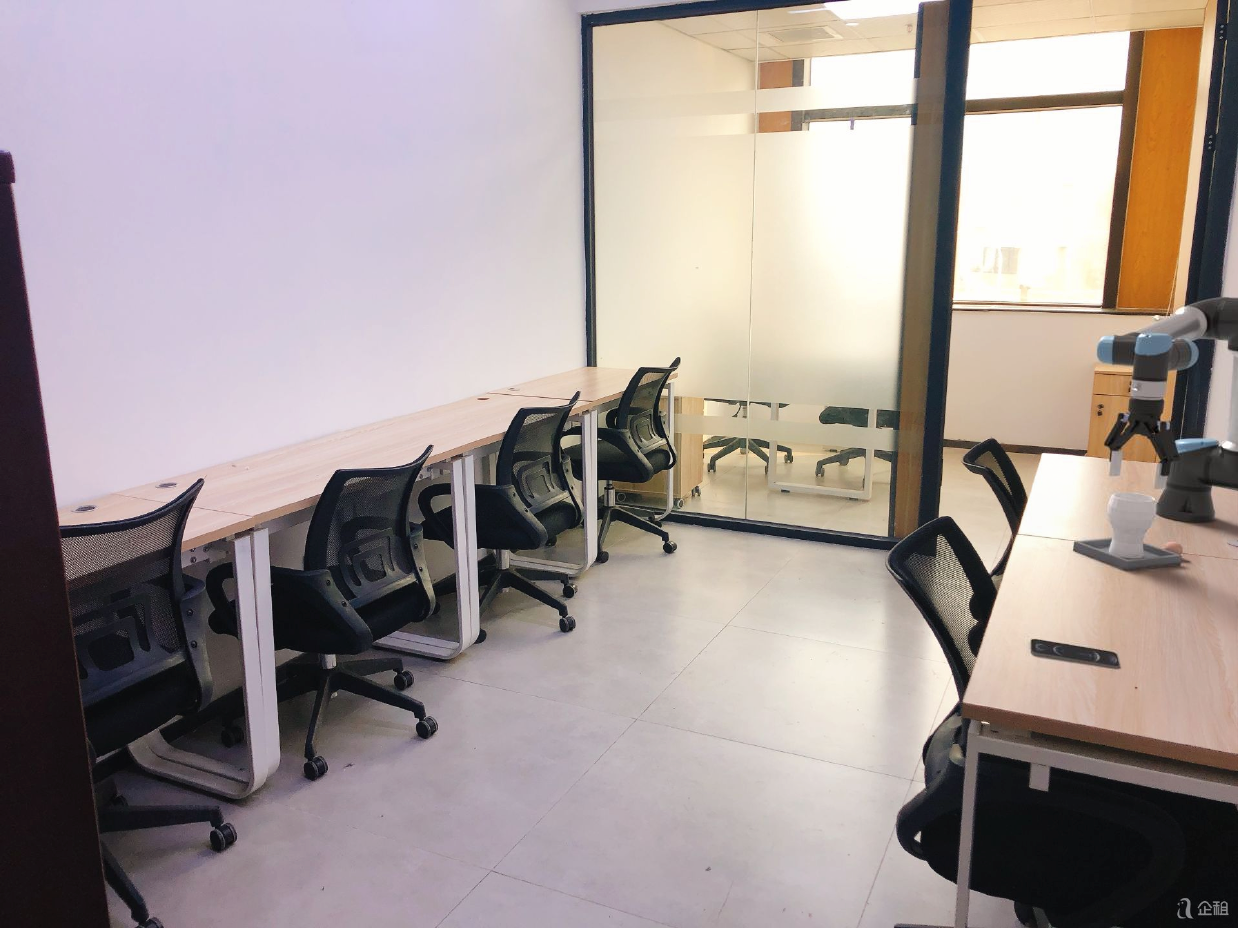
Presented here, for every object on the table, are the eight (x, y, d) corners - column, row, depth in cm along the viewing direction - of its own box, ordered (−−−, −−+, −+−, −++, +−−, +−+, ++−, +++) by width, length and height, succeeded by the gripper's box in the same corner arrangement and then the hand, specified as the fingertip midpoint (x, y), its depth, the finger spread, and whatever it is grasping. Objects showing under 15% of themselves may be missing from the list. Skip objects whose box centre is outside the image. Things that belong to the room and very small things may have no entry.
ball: (1171, 553, 237) (1173, 539, 236) (1185, 558, 233) (1187, 543, 232) (1159, 555, 236) (1161, 540, 235) (1173, 560, 232) (1175, 544, 231)
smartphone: (1120, 667, 168) (1031, 651, 174) (1119, 671, 169) (1030, 656, 174) (1116, 652, 175) (1030, 637, 181) (1116, 656, 175) (1030, 642, 181)
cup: (1156, 562, 228) (1164, 503, 224) (1109, 559, 230) (1117, 500, 226) (1141, 549, 238) (1149, 492, 234) (1096, 546, 240) (1103, 490, 236)
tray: (1124, 545, 244) (1125, 536, 244) (1180, 564, 228) (1182, 555, 228) (1073, 550, 239) (1074, 541, 239) (1126, 570, 223) (1127, 561, 223)
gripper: (1094, 391, 235) (1085, 472, 240) (1179, 406, 212) (1167, 495, 217) (1118, 389, 238) (1108, 469, 242) (1204, 404, 215) (1192, 492, 219)
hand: (1136, 482), depth 230 cm, fingers open, 13 cm apart
